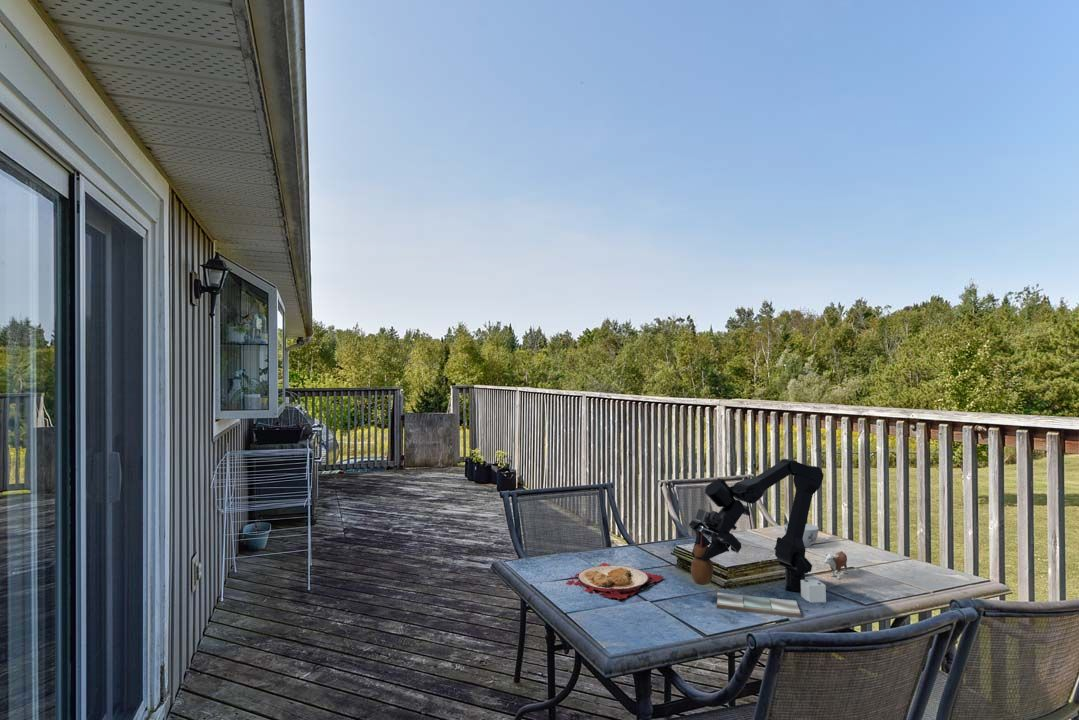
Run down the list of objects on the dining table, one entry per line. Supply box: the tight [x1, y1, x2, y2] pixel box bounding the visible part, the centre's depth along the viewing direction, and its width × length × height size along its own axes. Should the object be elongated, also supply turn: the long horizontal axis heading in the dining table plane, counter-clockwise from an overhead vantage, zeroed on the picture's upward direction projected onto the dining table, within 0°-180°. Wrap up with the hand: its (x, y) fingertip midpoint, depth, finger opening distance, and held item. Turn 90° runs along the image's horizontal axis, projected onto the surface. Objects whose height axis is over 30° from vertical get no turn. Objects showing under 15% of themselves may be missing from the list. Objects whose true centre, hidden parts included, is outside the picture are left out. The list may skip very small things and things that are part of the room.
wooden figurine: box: [690, 531, 714, 586], centre depth 169 cm, size 7×6×15 cm
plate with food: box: [565, 562, 665, 601], centre depth 187 cm, size 25×26×4 cm
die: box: [800, 579, 827, 603], centre depth 172 cm, size 5×5×5 cm
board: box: [716, 592, 802, 618], centre depth 166 cm, size 10×22×1 cm, turn 73°
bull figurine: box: [823, 550, 848, 580], centre depth 192 cm, size 4×13×8 cm, turn 132°
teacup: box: [784, 522, 820, 548], centre depth 230 cm, size 15×12×8 cm
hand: (697, 557), depth 169 cm, fingers closed on wooden figurine, 5 cm apart
